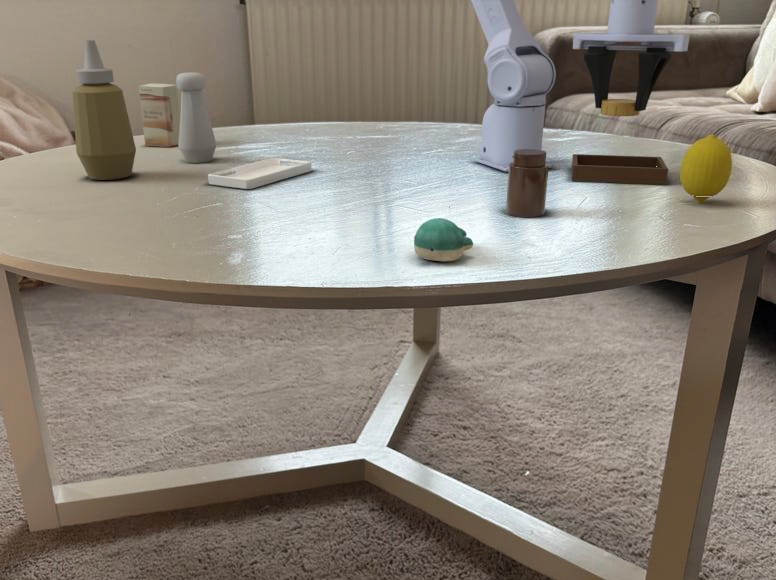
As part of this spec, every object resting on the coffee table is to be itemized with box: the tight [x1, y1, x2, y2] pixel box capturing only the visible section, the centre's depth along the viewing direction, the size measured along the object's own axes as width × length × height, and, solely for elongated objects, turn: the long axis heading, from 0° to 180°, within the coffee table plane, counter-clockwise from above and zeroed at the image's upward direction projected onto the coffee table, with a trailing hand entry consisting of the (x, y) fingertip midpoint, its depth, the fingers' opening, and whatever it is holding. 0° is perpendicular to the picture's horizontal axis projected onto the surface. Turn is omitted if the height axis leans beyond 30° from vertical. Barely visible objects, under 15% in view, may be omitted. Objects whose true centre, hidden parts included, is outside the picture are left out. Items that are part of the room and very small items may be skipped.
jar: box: [505, 149, 550, 218], centre depth 86 cm, size 4×4×7 cm
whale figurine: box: [413, 217, 474, 262], centre depth 72 cm, size 6×7×4 cm
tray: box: [571, 153, 669, 186], centre depth 106 cm, size 12×9×2 cm
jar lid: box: [600, 98, 641, 117], centre depth 101 cm, size 5×5×2 cm
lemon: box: [679, 134, 733, 204], centre depth 90 cm, size 6×6×8 cm
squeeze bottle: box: [72, 39, 137, 181], centre depth 104 cm, size 8×8×18 cm
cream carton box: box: [138, 82, 180, 148], centre depth 132 cm, size 5×4×10 cm
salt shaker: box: [175, 71, 217, 164], centre depth 117 cm, size 6×6×13 cm
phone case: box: [207, 157, 313, 190], centre depth 107 cm, size 7×1×15 cm
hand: (620, 108), depth 101 cm, fingers closed on jar lid, 5 cm apart
